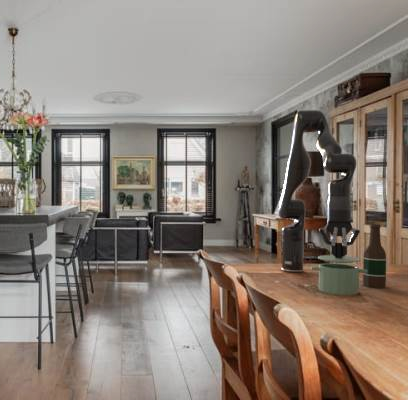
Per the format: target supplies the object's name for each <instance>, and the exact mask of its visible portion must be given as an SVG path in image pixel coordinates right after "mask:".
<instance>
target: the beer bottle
mask: <svg viewBox="0 0 408 400" xmlns="http://www.w3.org/2000/svg"><path fill="white" fill-rule="evenodd" d="M381 227H382V225H381V224H375V223H374V224H373V223H372V224H370V225H369V228H370V232H369V241H368V245H367V247H366V248H365V249H364V252H363V260H362V261H363V268H362V269H366V270H367V273H362V274H363V275H362V277H363V278H362V283H363V286H364V287H367V288H372V289H384V288H386V285H387V253H386V251H385V249H384V247H383V246H382V240H381Z"/></svg>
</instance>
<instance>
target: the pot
mask: <svg viewBox="0 0 408 400" xmlns="http://www.w3.org/2000/svg"><path fill="white" fill-rule="evenodd" d="M310 270H311V271H318V290H319V291H320V292H323V293H327V294H332V295H340V296H353V295H358V294H359V289H360V288H359V287H360V283H359V281H360V274H363V273H367V270H366V269H363V268H359V267H358V266H356V265H351V264H346V263H320V264H318V266H315V265H314V266H313V265H312V266H310Z"/></svg>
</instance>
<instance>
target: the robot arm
mask: <svg viewBox="0 0 408 400" xmlns="http://www.w3.org/2000/svg"><path fill="white" fill-rule="evenodd" d="M304 133H306V134H307V133H317V134H318V136H317V137H316V139H315V140H316V141H315V147H316V149H317V151H318V152H319V154H320V156H321V157H322V165H323V169H324V170H325V171H326V172H327V173H330V174H341V175H340V177H339V178H336V179H332V180H330V181H329V182H328V198H327V222H326V225H325V226H324V227H322V228H319V229H318V231H319V233H320V236H321V237H322V239H323V241H324V243H325V244H326V245H330V255H333V256H336V246H335V243H337V241H336V240H337V237H341V238H340V239H341V243H343V254H342V257H345V256H347V255H348V246H352V245H354V242H355V241H356V239H357V238H358V236H359V234H360V233H361V230H359V229H356V228H355V227H353V225H352V198H351V184H352V181H353V177H354V174H355V171H356V168H357V158H356V157H355V155H354V154H352V153H343V149H342V147H341V144H339V142H338V140H336V138H335V136H334V135H333V133H332V130H331V127H330V125H329V122H328V120H327V118H326V115H325V113H324V112H322V111H321V110H318V109H303V110H298V111H297V112H296V113H295V116H294V120H293V128H292V136H291V137H292V138H291V145H290V152H289V156H288V161H287V167H286V173H285V178H284V179H285V180H284V184H283V189H282V193H281V196H280V200H279V204H278V217H280V219H282V220H293V222H292V223H291V224H289V225H286V226H284V227H282V229H281V241H282V242H281V271H283V272H287V273H303V272H304V271H305V270H304V262H305V261H304V260H305V259H304V258H305V257H304V252H305V251H304V250H305V249H304V245H305V243H304V242H305V241H304V240H305V238H304V237H305V235H304V234H305V225H306V224H305V222H306V221H305V220H306V203H305V201H304V199H297V198H295V199H292V198H293V196H294V194H295V193H296V191H297V190H298V189H299V187H301V186H302V185H303V184H304V182H305V181H307V179H308V177H309V175H310V171H311V166H312V160H311V157H310V155H309V152H308V151H307V149H306V146H305V144H304ZM327 231H328V232H329V234H330V235H331V236H330V240H329V237H328V236H327V235H326V234H327ZM350 232H351V234H352V235H351V236H350V238H349V240H348V238H347V236H348V235H349V233H350Z"/></svg>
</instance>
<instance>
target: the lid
mask: <svg viewBox="0 0 408 400" xmlns="http://www.w3.org/2000/svg"><path fill="white" fill-rule="evenodd" d="M335 246H336V256H333V255H332V254H328V255H327V254H326V255H324V254H323V255H318V256H317V259H318V260H322V261H324V262H328V263H334V264H353V263H359V262H361V258H358V257H356V256H355V257H354V256H347V255H345V257H342V254H343V243H342V242H335Z"/></svg>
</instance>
